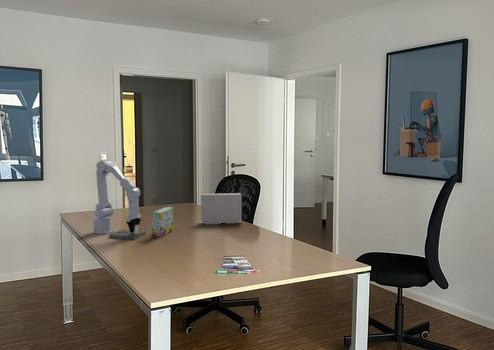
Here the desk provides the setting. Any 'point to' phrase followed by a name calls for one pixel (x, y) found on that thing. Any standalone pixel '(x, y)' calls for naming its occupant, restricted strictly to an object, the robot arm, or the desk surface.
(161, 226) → the snack box
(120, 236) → the console panel
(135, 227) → the fader cap
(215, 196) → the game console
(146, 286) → the desk surface
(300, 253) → the desk surface
